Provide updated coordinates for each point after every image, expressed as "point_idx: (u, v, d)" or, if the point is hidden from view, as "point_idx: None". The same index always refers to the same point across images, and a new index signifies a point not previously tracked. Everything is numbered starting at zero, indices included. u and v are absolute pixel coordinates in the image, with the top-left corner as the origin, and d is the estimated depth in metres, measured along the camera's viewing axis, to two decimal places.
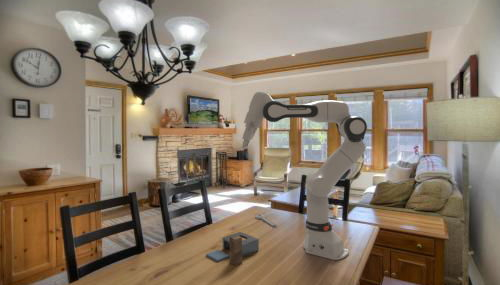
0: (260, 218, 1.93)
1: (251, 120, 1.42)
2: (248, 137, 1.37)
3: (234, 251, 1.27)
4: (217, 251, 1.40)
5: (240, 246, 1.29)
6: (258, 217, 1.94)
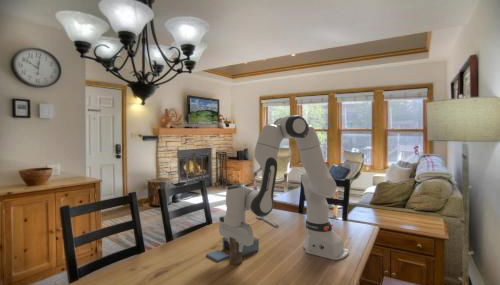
0: (261, 218, 1.93)
1: (241, 220, 1.26)
2: (252, 241, 1.23)
3: (234, 251, 1.27)
4: (217, 251, 1.40)
5: None
6: (259, 217, 1.94)
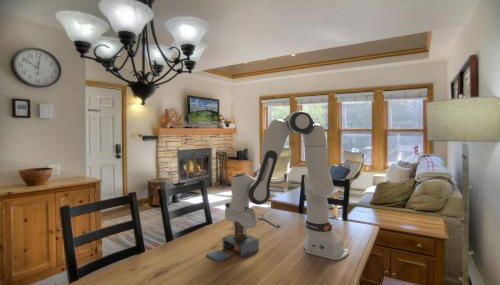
0: (263, 218, 1.92)
1: (245, 206, 1.39)
2: (255, 224, 1.37)
3: (239, 234, 1.41)
4: (217, 251, 1.40)
5: None
6: (261, 217, 1.93)
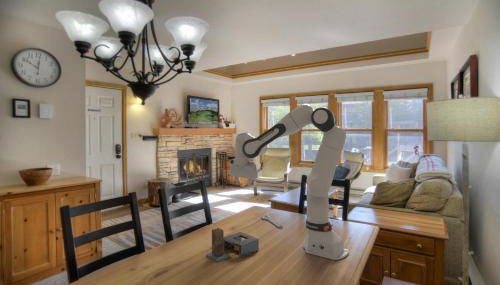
0: (266, 219, 1.91)
1: (247, 160, 1.59)
2: (256, 176, 1.57)
3: (216, 244, 1.34)
4: None
5: (222, 239, 1.35)
6: (264, 218, 1.92)
